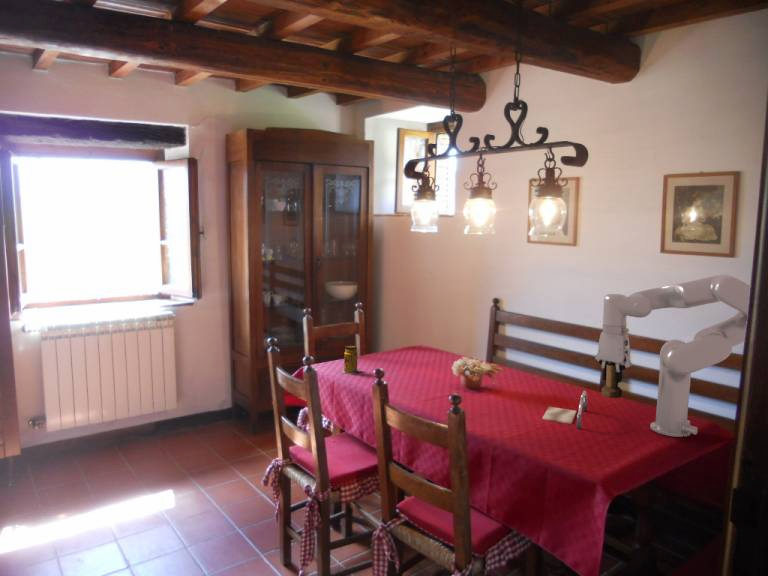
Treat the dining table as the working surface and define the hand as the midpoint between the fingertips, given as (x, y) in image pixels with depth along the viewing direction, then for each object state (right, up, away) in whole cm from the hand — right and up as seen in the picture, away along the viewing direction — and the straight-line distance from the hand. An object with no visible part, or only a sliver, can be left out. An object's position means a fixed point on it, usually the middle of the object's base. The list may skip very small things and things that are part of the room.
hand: (612, 380), depth 203 cm
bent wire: (-9, -15, +6) cm, 18 cm away
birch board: (-16, -14, +9) cm, 23 cm away
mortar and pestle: (0, -5, +1) cm, 6 cm away
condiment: (-95, -6, +64) cm, 114 cm away
